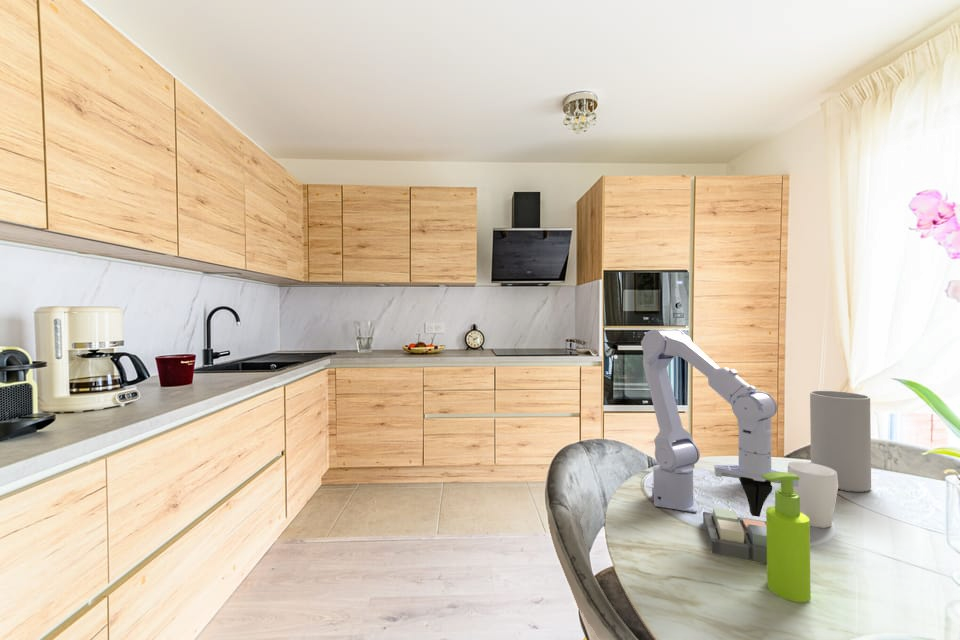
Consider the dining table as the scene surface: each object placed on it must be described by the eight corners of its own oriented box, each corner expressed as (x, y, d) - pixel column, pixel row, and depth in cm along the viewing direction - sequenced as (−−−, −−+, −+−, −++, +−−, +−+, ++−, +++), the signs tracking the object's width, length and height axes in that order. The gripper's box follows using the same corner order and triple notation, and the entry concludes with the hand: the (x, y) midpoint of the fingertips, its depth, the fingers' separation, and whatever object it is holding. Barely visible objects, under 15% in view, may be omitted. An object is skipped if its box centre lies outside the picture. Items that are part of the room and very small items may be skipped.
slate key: (753, 546, 78) (753, 533, 78) (748, 536, 81) (748, 524, 81) (777, 550, 76) (777, 537, 76) (771, 540, 80) (771, 527, 80)
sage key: (716, 527, 85) (716, 515, 85) (713, 518, 89) (713, 507, 89) (738, 531, 83) (737, 519, 83) (734, 522, 87) (734, 510, 87)
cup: (849, 532, 86) (848, 477, 86) (801, 528, 88) (800, 474, 88) (822, 512, 95) (821, 462, 95) (779, 509, 97) (779, 460, 97)
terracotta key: (746, 539, 83) (746, 527, 83) (742, 529, 86) (742, 518, 86) (769, 543, 81) (769, 531, 81) (764, 533, 85) (764, 521, 85)
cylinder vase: (800, 474, 119) (799, 390, 119) (847, 475, 117) (846, 391, 117) (831, 492, 106) (830, 398, 106) (884, 494, 104) (883, 399, 104)
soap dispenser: (753, 580, 71) (752, 468, 71) (789, 578, 71) (788, 466, 71) (781, 604, 65) (779, 481, 65) (820, 601, 65) (818, 479, 65)
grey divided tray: (712, 553, 79) (712, 541, 79) (703, 522, 91) (703, 511, 91) (792, 568, 74) (792, 555, 74) (771, 533, 86) (771, 522, 86)
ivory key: (720, 540, 80) (720, 528, 80) (717, 531, 84) (717, 519, 84) (744, 545, 78) (743, 532, 78) (739, 534, 82) (739, 522, 82)
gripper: (718, 451, 83) (718, 516, 83) (804, 460, 77) (804, 530, 77) (712, 441, 89) (713, 502, 90) (791, 449, 84) (791, 513, 84)
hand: (754, 514), depth 84 cm, fingers closed
